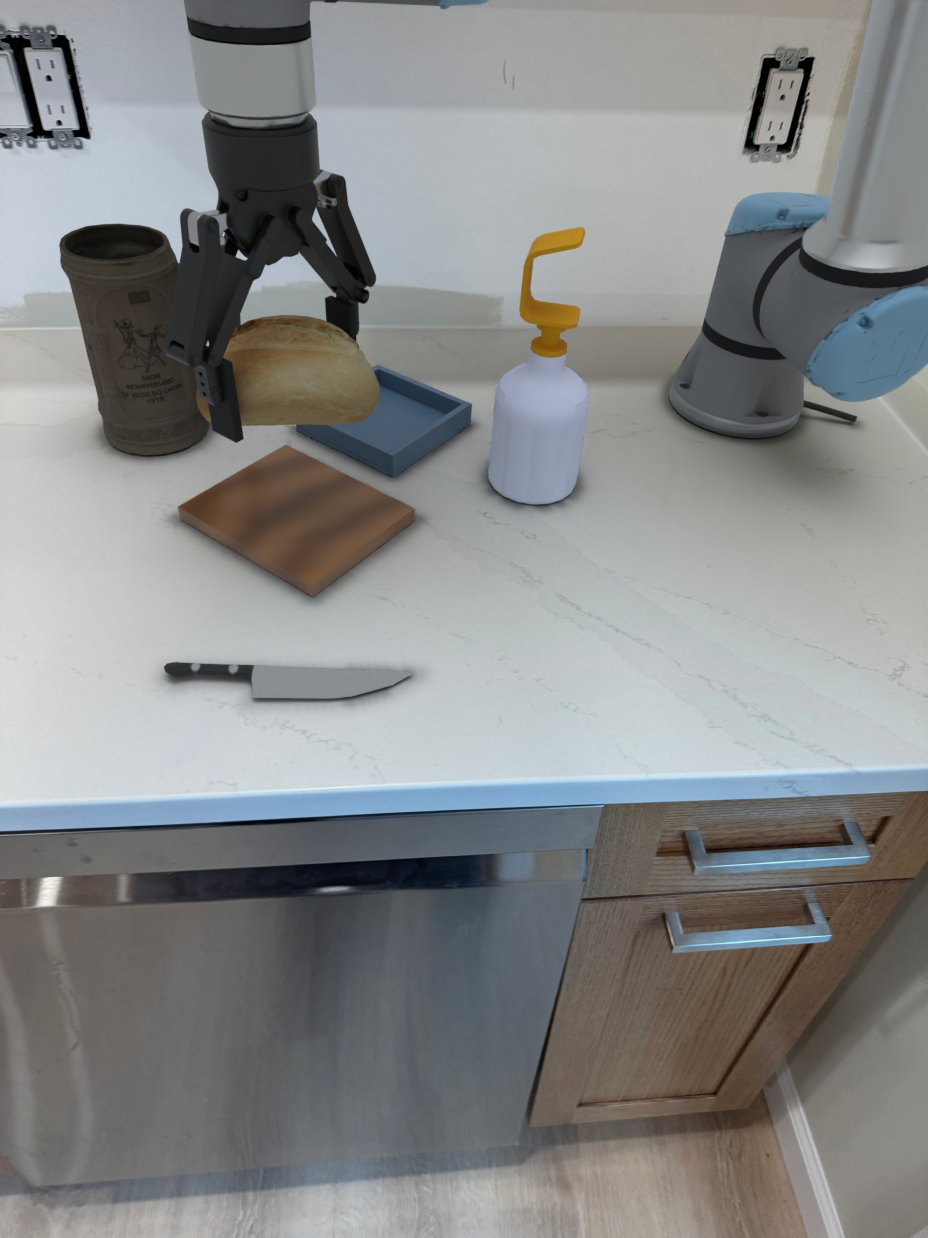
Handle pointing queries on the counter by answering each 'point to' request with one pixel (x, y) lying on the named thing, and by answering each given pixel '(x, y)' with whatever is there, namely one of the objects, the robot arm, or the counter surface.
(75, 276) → the beer stein
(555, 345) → the soap bottle
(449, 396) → the soap tray
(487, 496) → the counter surface
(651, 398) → the counter surface
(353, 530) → the bread board
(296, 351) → the bread roll
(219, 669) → the chef's knife
